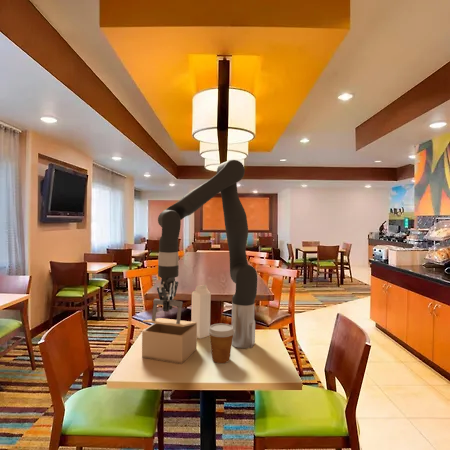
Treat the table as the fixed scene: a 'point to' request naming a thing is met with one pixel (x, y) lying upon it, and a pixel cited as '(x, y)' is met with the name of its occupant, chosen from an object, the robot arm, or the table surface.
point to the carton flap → (169, 321)
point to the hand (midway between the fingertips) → (167, 309)
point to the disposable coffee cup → (221, 342)
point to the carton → (169, 342)
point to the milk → (201, 310)
